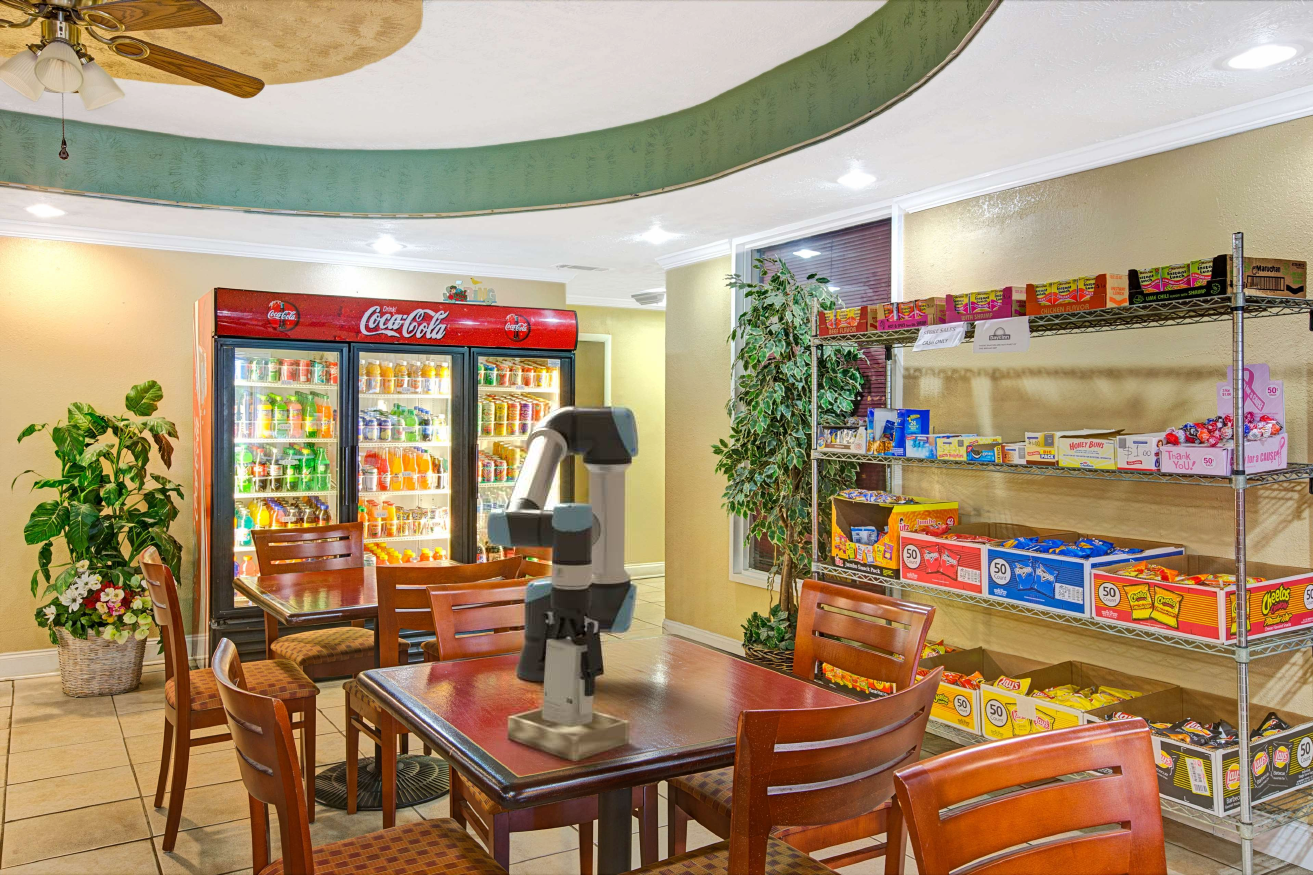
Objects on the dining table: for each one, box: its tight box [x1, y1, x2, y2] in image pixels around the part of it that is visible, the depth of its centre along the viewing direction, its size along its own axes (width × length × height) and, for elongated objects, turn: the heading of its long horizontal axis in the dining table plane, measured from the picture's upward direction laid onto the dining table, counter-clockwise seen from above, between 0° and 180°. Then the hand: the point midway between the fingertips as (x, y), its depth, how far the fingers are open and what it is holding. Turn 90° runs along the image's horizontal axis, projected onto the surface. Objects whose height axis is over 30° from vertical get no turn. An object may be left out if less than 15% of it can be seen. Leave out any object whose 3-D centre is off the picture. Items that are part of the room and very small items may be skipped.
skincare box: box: [541, 637, 595, 727], centre depth 166 cm, size 8×6×15 cm
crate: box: [507, 707, 630, 763], centre depth 166 cm, size 18×14×4 cm
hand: (568, 707), depth 166 cm, fingers closed on skincare box, 8 cm apart
